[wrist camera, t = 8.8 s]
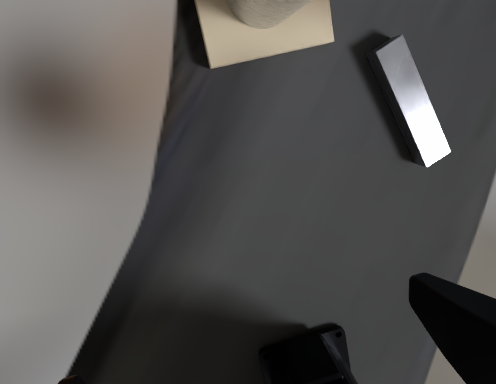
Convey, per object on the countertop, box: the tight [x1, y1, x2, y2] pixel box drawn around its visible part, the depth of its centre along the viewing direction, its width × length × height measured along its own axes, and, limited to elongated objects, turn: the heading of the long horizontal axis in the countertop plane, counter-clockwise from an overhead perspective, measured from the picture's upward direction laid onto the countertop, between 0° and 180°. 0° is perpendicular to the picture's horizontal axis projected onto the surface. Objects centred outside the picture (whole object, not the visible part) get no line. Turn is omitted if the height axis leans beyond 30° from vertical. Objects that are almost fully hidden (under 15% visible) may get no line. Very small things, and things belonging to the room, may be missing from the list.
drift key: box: [366, 35, 451, 167], centre depth 22 cm, size 8×2×1 cm, turn 32°
